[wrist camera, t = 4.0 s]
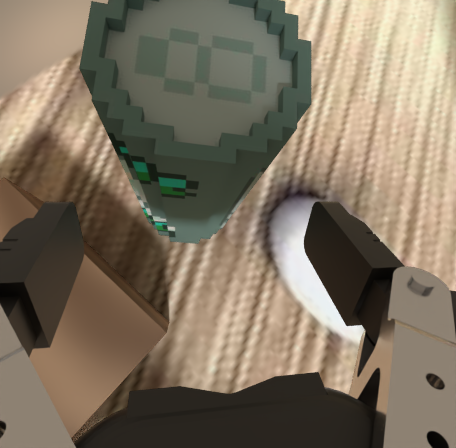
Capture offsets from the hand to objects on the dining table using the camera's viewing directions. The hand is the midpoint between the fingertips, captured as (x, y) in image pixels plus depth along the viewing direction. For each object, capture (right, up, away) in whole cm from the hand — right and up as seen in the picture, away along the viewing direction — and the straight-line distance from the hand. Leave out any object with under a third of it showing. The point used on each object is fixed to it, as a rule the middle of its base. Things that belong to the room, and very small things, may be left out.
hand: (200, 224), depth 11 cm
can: (-2, +2, +12) cm, 13 cm away
